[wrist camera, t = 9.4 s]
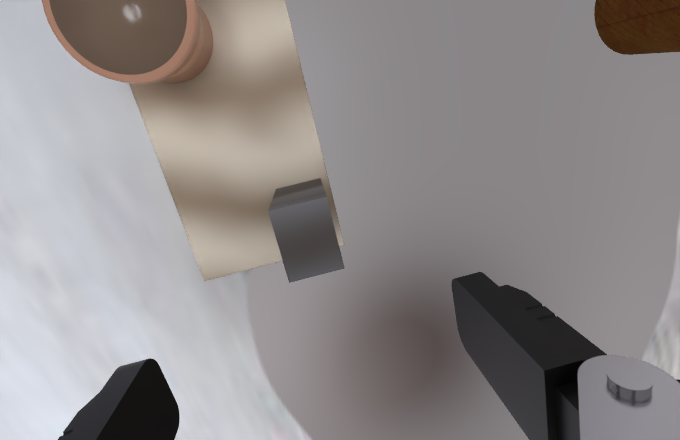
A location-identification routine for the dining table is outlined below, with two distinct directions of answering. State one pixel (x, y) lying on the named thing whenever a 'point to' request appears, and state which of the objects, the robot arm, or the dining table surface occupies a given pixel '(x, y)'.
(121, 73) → the terracotta pot
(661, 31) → the disposable coffee cup
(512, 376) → the robot arm
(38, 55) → the dining table surface
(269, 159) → the birch board
